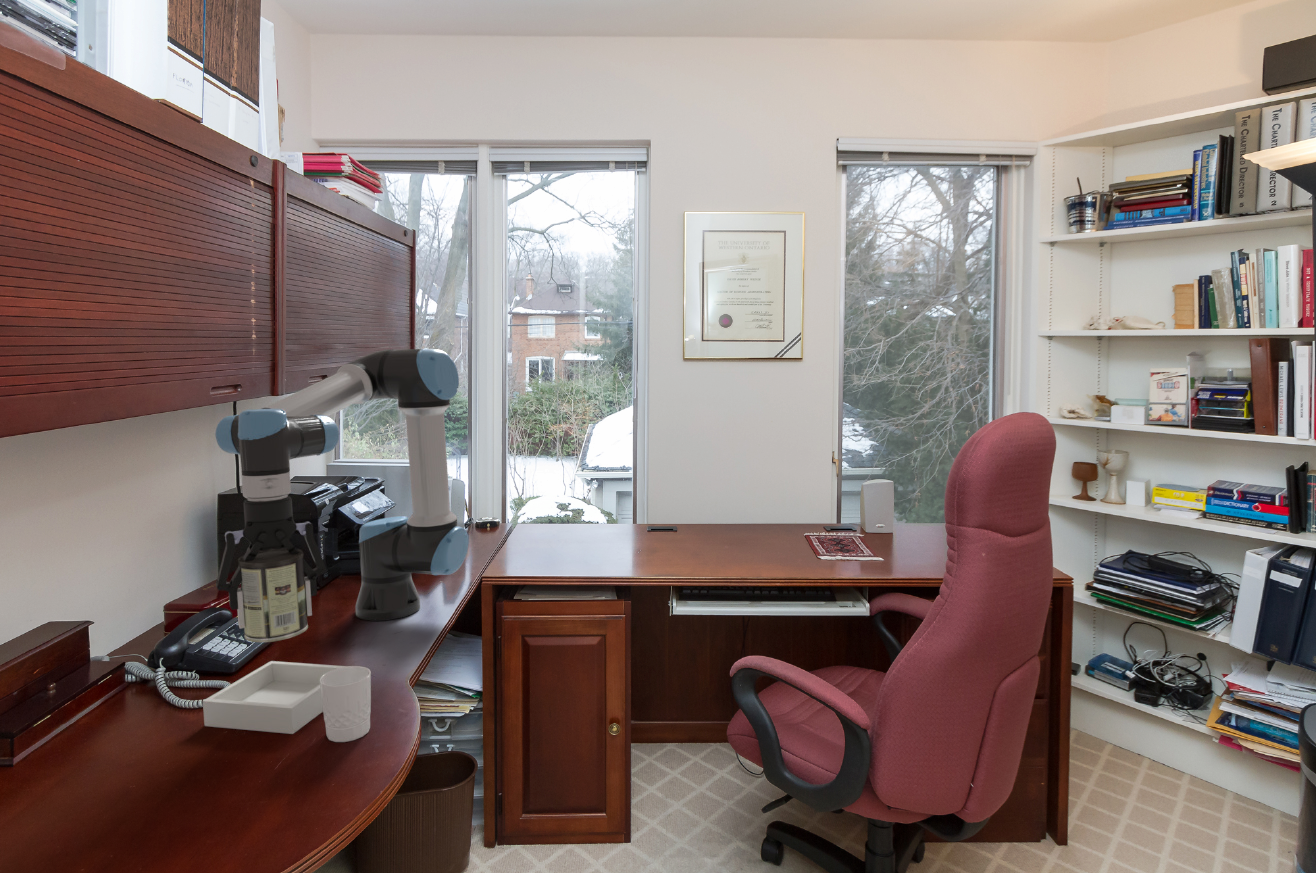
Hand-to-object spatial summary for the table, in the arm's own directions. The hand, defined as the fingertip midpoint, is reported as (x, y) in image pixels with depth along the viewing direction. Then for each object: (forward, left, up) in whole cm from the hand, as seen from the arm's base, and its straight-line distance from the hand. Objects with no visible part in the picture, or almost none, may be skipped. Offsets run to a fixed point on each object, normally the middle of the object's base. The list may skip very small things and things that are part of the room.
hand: (275, 619), depth 133 cm
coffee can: (0, 0, -2) cm, 2 cm away
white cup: (+16, +9, -17) cm, 25 cm away
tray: (0, 0, -16) cm, 16 cm away
